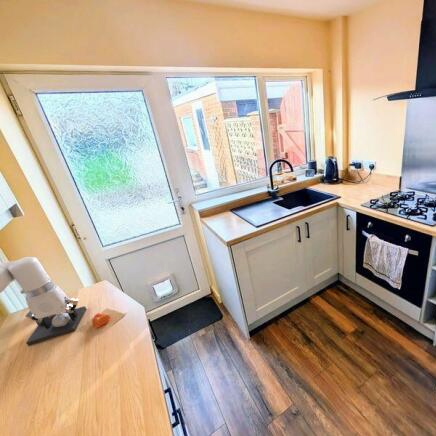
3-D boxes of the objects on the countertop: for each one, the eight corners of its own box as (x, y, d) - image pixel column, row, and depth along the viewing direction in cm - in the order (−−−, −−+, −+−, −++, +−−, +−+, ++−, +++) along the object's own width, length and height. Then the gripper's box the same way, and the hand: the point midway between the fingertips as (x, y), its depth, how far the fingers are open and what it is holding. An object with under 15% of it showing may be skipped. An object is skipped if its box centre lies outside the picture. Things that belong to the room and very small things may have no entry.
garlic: (75, 320, 100) (69, 310, 98) (61, 330, 95) (54, 321, 93) (66, 317, 102) (60, 307, 100) (51, 327, 98) (45, 318, 95)
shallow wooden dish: (107, 308, 107) (103, 301, 105) (125, 314, 103) (121, 306, 101) (77, 330, 97) (72, 322, 96) (96, 338, 93) (91, 330, 91)
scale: (26, 346, 93) (21, 340, 91) (44, 321, 104) (40, 315, 103) (75, 331, 97) (70, 325, 96) (87, 308, 109) (83, 302, 107)
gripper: (3, 302, 85) (31, 337, 93) (63, 286, 90) (84, 321, 98) (16, 289, 92) (41, 323, 99) (71, 275, 97) (91, 308, 104)
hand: (62, 322), depth 98 cm, fingers open, 8 cm apart
